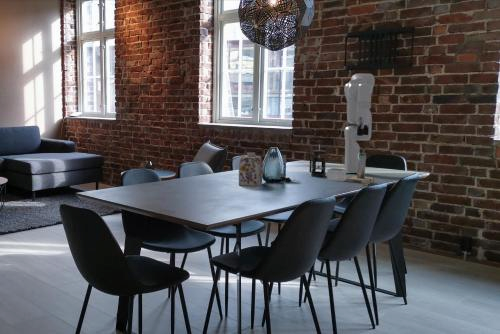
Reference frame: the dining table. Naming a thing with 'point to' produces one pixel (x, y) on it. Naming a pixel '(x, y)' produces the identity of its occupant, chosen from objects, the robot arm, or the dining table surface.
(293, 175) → the dining table surface
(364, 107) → the robot arm
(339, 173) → the stand base
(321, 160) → the black lantern
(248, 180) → the decorative jar
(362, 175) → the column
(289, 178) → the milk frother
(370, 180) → the tan flat square block
